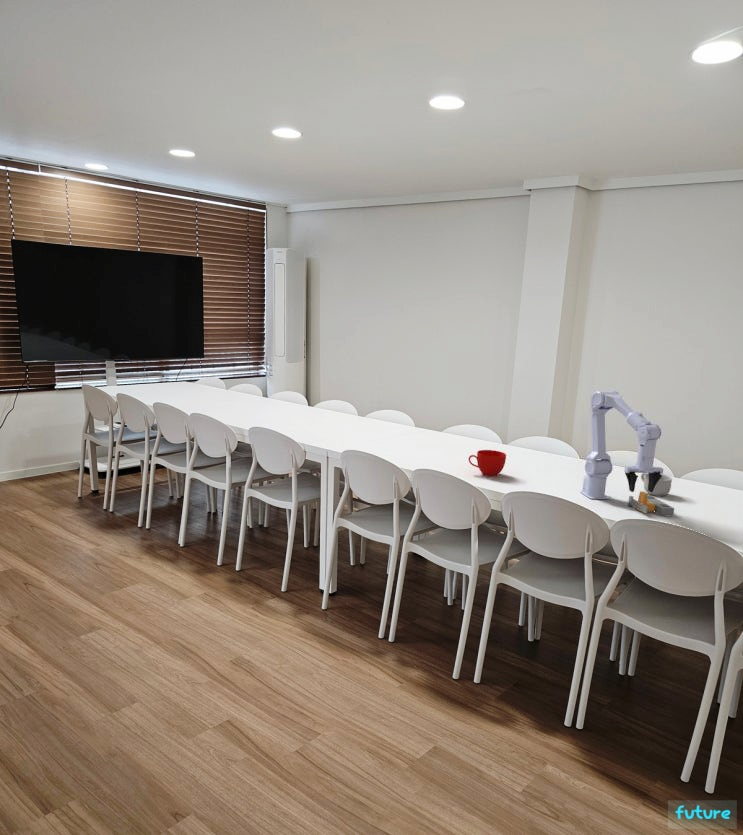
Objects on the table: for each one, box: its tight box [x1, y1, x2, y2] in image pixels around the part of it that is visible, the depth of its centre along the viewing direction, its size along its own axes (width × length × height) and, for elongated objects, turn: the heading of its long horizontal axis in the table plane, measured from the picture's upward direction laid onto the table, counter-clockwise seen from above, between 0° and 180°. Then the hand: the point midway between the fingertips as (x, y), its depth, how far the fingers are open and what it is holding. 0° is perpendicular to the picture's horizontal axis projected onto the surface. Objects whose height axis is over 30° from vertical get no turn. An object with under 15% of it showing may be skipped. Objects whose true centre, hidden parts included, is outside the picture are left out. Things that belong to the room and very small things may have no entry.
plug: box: [634, 491, 655, 513], centre depth 240 cm, size 4×6×7 cm
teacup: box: [640, 473, 673, 497], centre depth 265 cm, size 14×11×8 cm
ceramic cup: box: [468, 449, 507, 477], centre depth 279 cm, size 13×17×10 cm
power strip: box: [637, 494, 675, 517], centre depth 243 cm, size 16×5×3 cm, turn 8°
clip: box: [627, 495, 648, 514], centre depth 239 cm, size 12×2×4 cm, turn 8°
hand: (640, 491), depth 233 cm, fingers open, 7 cm apart
